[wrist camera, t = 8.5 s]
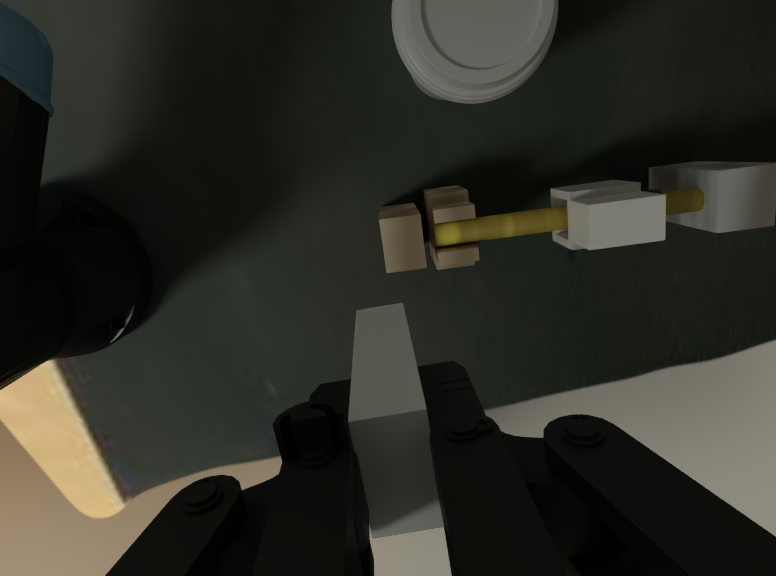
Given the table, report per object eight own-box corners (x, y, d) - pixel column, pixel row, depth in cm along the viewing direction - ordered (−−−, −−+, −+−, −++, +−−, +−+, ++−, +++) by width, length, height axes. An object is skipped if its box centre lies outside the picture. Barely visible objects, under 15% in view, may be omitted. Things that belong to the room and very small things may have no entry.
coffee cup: (527, 42, 40) (607, -23, 25) (459, 141, 42) (498, 134, 28) (433, -32, 39) (462, -145, 24) (367, 75, 41) (357, 31, 26)
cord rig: (388, 260, 45) (388, 287, 36) (379, 196, 43) (377, 206, 34) (692, 219, 44) (773, 236, 35) (694, 151, 42) (779, 150, 33)
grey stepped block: (552, 240, 39) (589, 259, 32) (550, 188, 38) (587, 195, 31) (614, 232, 39) (665, 248, 32) (613, 179, 38) (666, 185, 31)
